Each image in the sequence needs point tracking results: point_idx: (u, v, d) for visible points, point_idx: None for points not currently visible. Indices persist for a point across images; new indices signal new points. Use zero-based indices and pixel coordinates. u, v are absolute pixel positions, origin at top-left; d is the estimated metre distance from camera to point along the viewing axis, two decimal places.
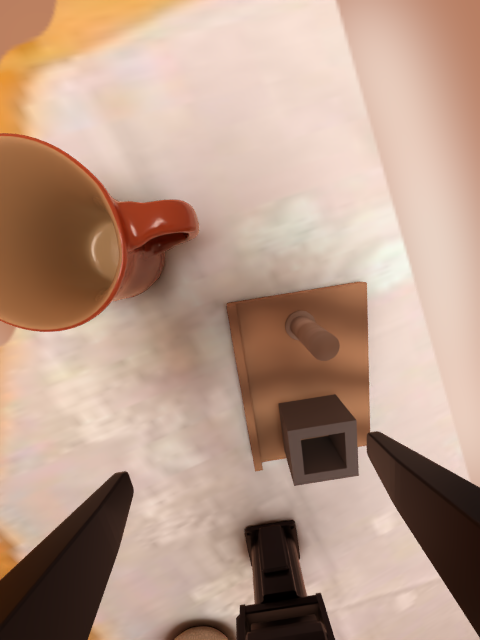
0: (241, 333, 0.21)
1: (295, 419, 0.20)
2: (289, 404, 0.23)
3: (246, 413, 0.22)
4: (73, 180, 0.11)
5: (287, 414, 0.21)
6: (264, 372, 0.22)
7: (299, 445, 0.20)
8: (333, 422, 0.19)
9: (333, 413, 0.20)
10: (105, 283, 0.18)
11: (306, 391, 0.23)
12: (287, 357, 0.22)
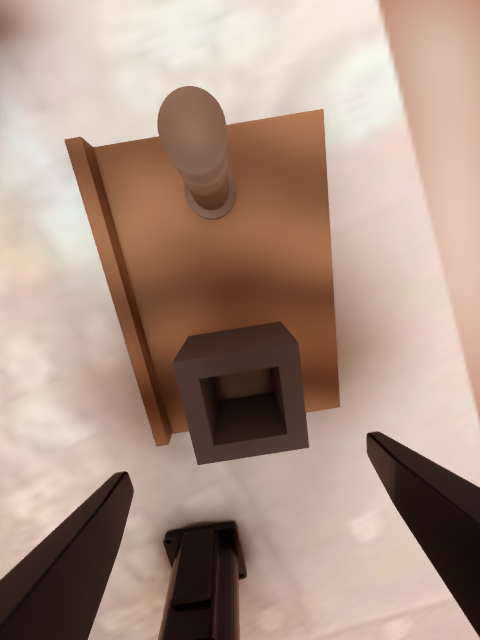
0: (111, 206, 0.12)
1: (198, 349, 0.12)
2: (203, 336, 0.14)
3: (129, 348, 0.13)
4: None
5: (190, 345, 0.12)
6: (159, 281, 0.13)
7: (197, 391, 0.11)
8: (258, 347, 0.11)
9: (264, 338, 0.12)
10: None
11: (232, 316, 0.14)
12: (196, 253, 0.13)
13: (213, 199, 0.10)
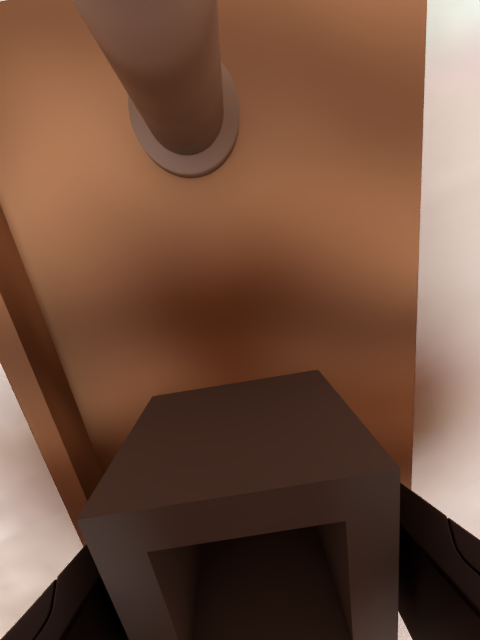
0: None
1: (157, 453, 0.05)
2: (178, 399, 0.08)
3: (34, 427, 0.07)
4: None
5: (146, 432, 0.06)
6: (92, 300, 0.07)
7: (147, 574, 0.04)
8: (295, 475, 0.04)
9: (301, 431, 0.05)
10: None
11: (232, 361, 0.08)
12: (161, 246, 0.07)
13: (182, 104, 0.04)
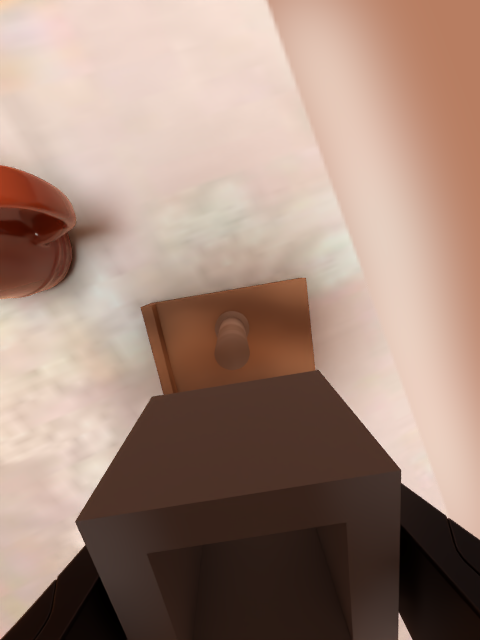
0: (165, 337, 0.18)
1: (156, 454, 0.05)
2: (178, 400, 0.08)
3: None
4: None
5: (145, 433, 0.06)
6: (195, 382, 0.19)
7: (146, 576, 0.04)
8: (296, 477, 0.04)
9: (301, 432, 0.05)
10: None
11: None
12: None
13: None
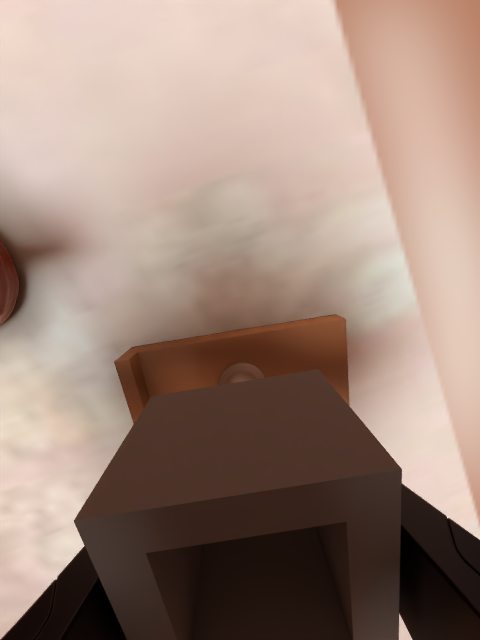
0: None
1: (156, 453, 0.05)
2: (177, 399, 0.07)
3: None
4: None
5: (145, 432, 0.06)
6: None
7: (145, 576, 0.04)
8: (295, 476, 0.04)
9: (301, 431, 0.05)
10: None
11: None
12: None
13: None
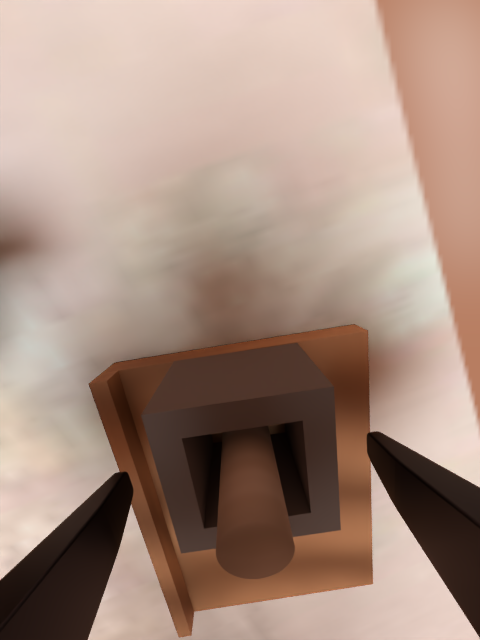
0: (136, 421, 0.11)
1: (184, 388, 0.08)
2: (194, 362, 0.10)
3: (152, 557, 0.12)
4: None
5: (174, 379, 0.09)
6: None
7: (180, 455, 0.07)
8: (272, 392, 0.07)
9: (279, 374, 0.08)
10: None
11: None
12: None
13: None
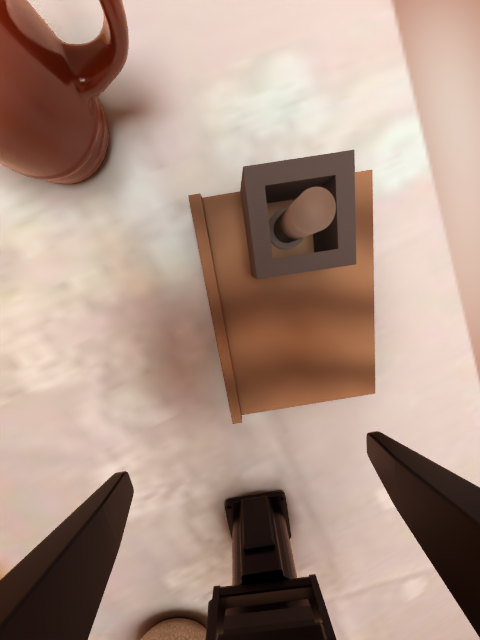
0: (211, 240, 0.17)
1: None
2: None
3: (219, 346, 0.17)
4: None
5: None
6: (241, 295, 0.18)
7: (263, 198, 0.12)
8: (318, 156, 0.12)
9: None
10: None
11: (295, 321, 0.18)
12: None
13: None
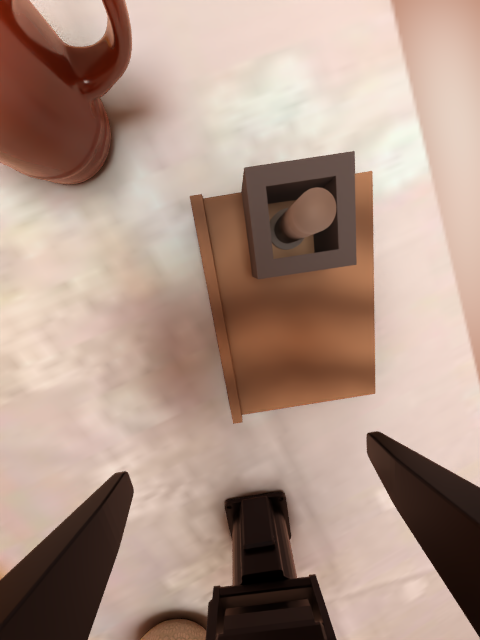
0: (212, 240, 0.17)
1: None
2: None
3: (220, 346, 0.18)
4: None
5: None
6: (242, 295, 0.18)
7: (264, 199, 0.12)
8: (318, 157, 0.12)
9: None
10: None
11: (296, 321, 0.18)
12: None
13: (298, 239, 0.15)
